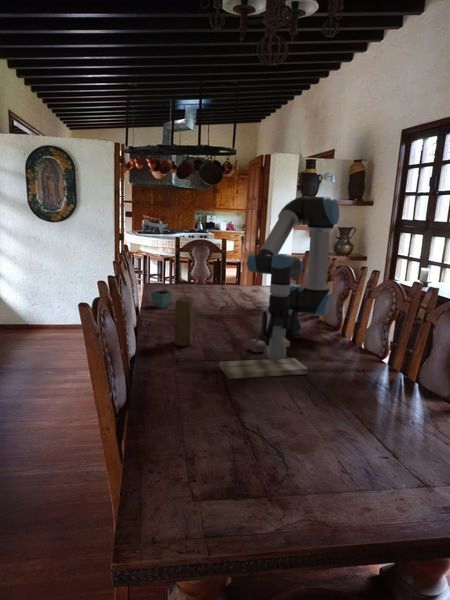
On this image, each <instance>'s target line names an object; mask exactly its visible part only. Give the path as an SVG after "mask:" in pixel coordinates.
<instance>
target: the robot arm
mask: <svg viewBox="0 0 450 600" xmlns="http://www.w3.org/2000/svg"><path fill="white" fill-rule="evenodd" d="M277 218H278V219H277V221H276V223H275V225H274V226H273V228H272V229H271V231H270V232H269V235H268V236H267V238H266V239H265V241H264V242H263V244H262V246H261V247H260V249H259V251H258V252H257V253H251V254H249V255H248V257H247V260H246V267H247V269H248V271H249V272H251V273H256V274H264V275H265V274H266V275H270V284H269V293H270V295H269V298H268V299H269V300H268V307H267V309H265V310H263V309H262V310H260V313H261V330H260V335H262V337H264V338H265V341H264V342H265V345H266V353H268V354H271V346H272V338H271V337H270V336H271V333H272V329H273V326H282V327H283V328H285V329H286V334H285V339H287V340H288V341H289V337H290V336H297V335H300V334H302V326H301V322H300V315H299V314H304V315H305V314H306V315H311V316H312V315H313V316H315V317H317V316H319V317H325V316H326V315H327V314H329V311H330V310H331V307H332V305H333V298H334V296H333V292H331V291H330V286H329V285H328V284H327V276H328V275H327V274H328V262H329V250H330V238H331V237H330V236H331V232H332V230H334V228H335V225H337V224H338V223H339V219H340V207H339V203H338V200H337V199H335V198H334V197H328V196H300V197H296V198H294V199H292V200H291V201H289V202H288V203H287V204H285V205H284V207H282V208H281V211H280V212H279V213H278V215H277ZM300 223H305V224H307V229H308V230H309V231H310V234H309V235H310V236H309V237H310V238H309V250H308V251H309V253H308V254H309V255H308V264H307V265H308V268H307V282H306V283H305V284H304V285H303V288H302V285H301V284H298V283H297V284H295V283H293V284H291V278H293V277H297V276H299V275H300V274H301V273H303V270H304V263H303V261H302V260H301V259H300V258H299V257H297V256H296V257H295V256H292V255H291V254H287V253H280V251H281V250H282V248H283V246H284V244H285V243H286V241H287V239H288V237H289V236H290V234H291V232H292V230H293V229H294V228H295V227H297V226H298V225H299V224H300ZM268 315H270V316H269V321H268ZM284 351H285V348H284Z"/></svg>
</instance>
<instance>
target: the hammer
mask: <svg viewBox="0 0 450 600" xmlns="http://www.w3.org/2000/svg"><path fill="white" fill-rule="evenodd" d="M285 334H286V329H285V328H283V327H282V326H273V329H272V333H271V336H270V337H271V338H272V346H271V354H268V353H267V352H266V353H267V355H266V356H267V357H268V359H286V358H287V347H290V346H291V341H290V340H289V339H288V340H287V339H285ZM284 348H285V351H284Z"/></svg>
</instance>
